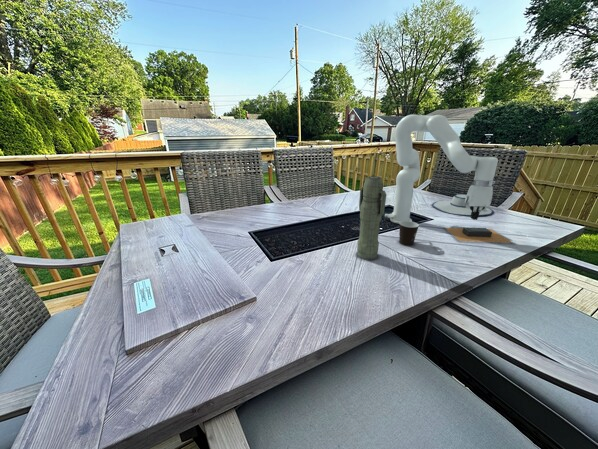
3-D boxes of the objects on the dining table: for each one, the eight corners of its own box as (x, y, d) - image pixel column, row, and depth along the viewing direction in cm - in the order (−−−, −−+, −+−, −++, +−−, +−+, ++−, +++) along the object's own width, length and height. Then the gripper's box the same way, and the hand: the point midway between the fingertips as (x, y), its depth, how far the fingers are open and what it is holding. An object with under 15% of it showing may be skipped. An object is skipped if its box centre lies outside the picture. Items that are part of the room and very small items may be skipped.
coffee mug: (407, 248, 117) (410, 228, 113) (393, 241, 124) (395, 222, 120) (423, 243, 122) (427, 224, 118) (409, 237, 129) (412, 218, 125)
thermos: (373, 263, 104) (382, 180, 92) (350, 254, 112) (355, 177, 100) (384, 256, 110) (393, 177, 97) (361, 248, 118) (367, 174, 105)
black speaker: (468, 231, 126) (492, 231, 124) (463, 226, 131) (485, 227, 130) (467, 236, 127) (490, 237, 125) (462, 232, 132) (484, 232, 131)
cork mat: (459, 241, 122) (459, 240, 122) (444, 228, 139) (444, 227, 139) (512, 243, 119) (512, 242, 119) (490, 229, 136) (490, 229, 136)
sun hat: (431, 200, 196) (433, 188, 193) (485, 204, 182) (488, 192, 179) (433, 212, 165) (435, 199, 162) (499, 219, 151) (503, 205, 148)
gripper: (494, 181, 122) (485, 216, 129) (462, 181, 124) (454, 216, 131) (504, 184, 115) (494, 221, 122) (469, 184, 117) (461, 220, 124)
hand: (473, 218), depth 126 cm, fingers closed
